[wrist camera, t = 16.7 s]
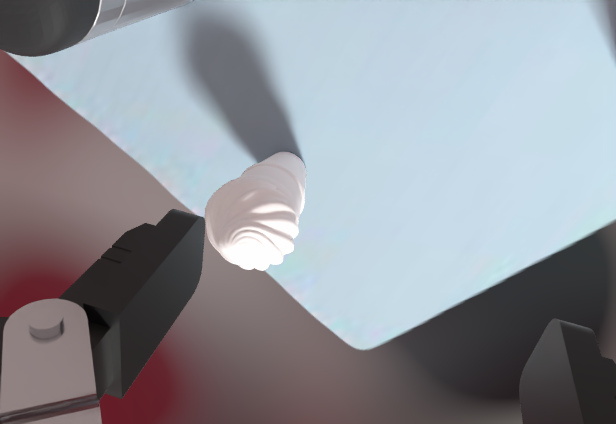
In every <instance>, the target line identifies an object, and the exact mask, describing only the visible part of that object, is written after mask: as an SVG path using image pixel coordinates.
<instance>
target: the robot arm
mask: <svg viewBox="0 0 616 424" xmlns="http://www.w3.org/2000/svg"><path fill="white" fill-rule="evenodd" d="M191 1H193V0H0V49H2V50H4V51H6V52H9V53H12V54H16V55H20V56H29V57H36V56H44V55H48V54H52V53H55V52H58V51H61V50H63V49H66V48H69V47H71V46H74V45H76V44H79V43H82V42H85V41H87V40H90V39H93V38H95V37H98V36H100V35H103V34H106V33H108V32H111V31H114V30H117V29H119V28H122V27H125V26H128V25H130V24H133V23H136V22H139V21H141V20H144V19H147V18H150V17H152V16H155V15H158V14H161V13H163V12H166V11H169V10H172V9H175V8H177V7H180V6H183V5H185V4H187V3H189V2H191ZM204 234H205V219H204V218H203V217H200V216H197V215H193V214H190V213H186V212H183V211H179V210H176V209H172V210H170V211H169V212H168V213H167V214H166V215H165V217H164V218H163V219H162V220H161V221H160V222H159V223H158V224H157V225H156V226H154V225H151V224H147V223H145V224H142V225H140V226H138V227H136V228H134V229H131V230H129V231H127V232H125V233H124V234H123V235H122V236H121V237H120V238H119V239H118V240H117V241H116V242H115V243H114V244H113V245H112V248H109V249H108V250H107V251H106V252H105V253H104V254H103V255H102V256H101V259H98V260H97V261H96V262H95V263H94V264H93V265H92V266H91V267H90V268H89V269H88V270H87V271H86V272H85V273H84V274H83V275H82V276H81V277H80V278H79V279H78V280H77V281H76V282H75V283H74V284H73V285H71V287H70V288H69V289H68V290H66V291H65V292H64V293H63V294H62V295H61V297H59V298H58V299H45V300H40V301H36V302H33V303H30V304H28V305H25V306H24V307H22V308H20V309H18V310H17V311H16V312H14V313H13V314H12V315H11V316H10V317H0V424H102V423H101V414H100V406H99V400H100V399H101V397H102V396H103V395H104V393H106V394H109V395H112V396H115V397H118V398H121V399H122V398H123V396H124V395H125V393H126V392H127V391H128V389H129V387H130V386H131V385H132V383H133V382H134V380H135V379H136V377H137V376H138V374H139V373H140V372H141V370H142V369H143V367H144V366H145V364H146V363H147V361H148V360H149V358H150V357H151V355H152V354H153V352H154V351H155V350H156V348H157V347H158V345H159V344H160V342H161V341H162V339H163V338H164V336H165V335H166V333H167V332H168V330H169V329H170V328H171V326H172V325H173V323H174V322H175V320H176V319H177V317H178V316H179V314H180V313H181V311H182V310H183V308H184V307H185V306H186V304H187V302H188V301H189V300H190V298H191V297H192V295H193V294H194V292H195V289H196V288H197V285H198V283H199V280H200V276H201V271H202V261H203V249H204ZM519 395H520V404H521V412H522V420H523V424H616V364H615V363H614V361H613V360H612V359H608V358H605V357H602V356H601V353H600V350H599V347H598V343H597V340H596V337H595V334H594V332H593V330H591V329H589V328H586V327H582V326H579V325H576V324H572V323H569V322H565V321H561V320H558V319H553V320H552V321H551V322H550V323H549V324H548V326H547V328H546V329H545V331H544V333H543V335H542V336H541V338H540V340H539V342H538V344H537V345H536V347H535V349H534V351H533V352H532V355H531V356H530V358H529V360H528V362H527V363H526V365H525V368H524V370H523V373H522V376H521V380H520V387H519Z"/></svg>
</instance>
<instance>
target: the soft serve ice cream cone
mask: <svg viewBox="0 0 616 424" xmlns="http://www.w3.org/2000/svg"><path fill="white" fill-rule="evenodd" d="M306 175H307V174H306V167H305V165H304V163H303V162H302V160H301V159H300V158H299V157H297V156H296V155H294V154H292V153H289V152H278V153H275V154H274V155H272V156H270V157H269V158H267V159H265V160H264V161H262V162H260V163H258V164H254V165H252V166H250V167H249V168H247V169H246V170H245V171H244V172H243V173H242V175H241V177H239V178H237V179H235V180H231V181H230V182H228V183H226V184H224V185H223V186H222V187H221V188H219V189H218V190H217V191H216V192H214V194H213V195H212V196H211V198H210V199H209V200H208V203H207V206H206V208H205V223H206V230H207V234H208V238H209V240H210V242H211V243H212V245H213V246H214V247H215V249H216V250H217V251H218V252H220V254H221V255H222V256H223V257H224V258H225V259H226V260H227V261H229V262H230V263H233V264H238V265H239V266H240V267H241V268H244V269H246V270H248V269H253V268H256V269H258V270H265V269H267V268H268V266H269V264H281V262H282V261H283V256H284V254H288V253H290V252H292V251H293V250H294V243H293V240H292V239H293V238H295V237H296V236H297V235H298V232H299V228H298V223H299V216H300V214H301V212H302V210H303V208H304V204H305V193H304V191H305V183H306Z"/></svg>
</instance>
